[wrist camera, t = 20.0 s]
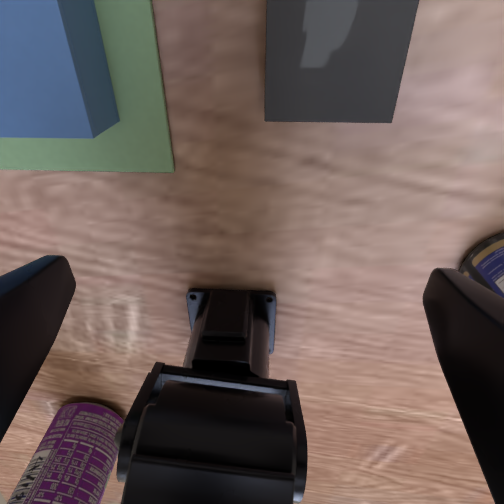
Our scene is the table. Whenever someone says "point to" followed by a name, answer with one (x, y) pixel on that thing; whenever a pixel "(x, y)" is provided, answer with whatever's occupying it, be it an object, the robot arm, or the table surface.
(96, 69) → the blue book
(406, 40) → the black notebook
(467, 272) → the pill bottle
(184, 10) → the table surface
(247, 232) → the table surface
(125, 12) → the green mat
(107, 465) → the beverage can
